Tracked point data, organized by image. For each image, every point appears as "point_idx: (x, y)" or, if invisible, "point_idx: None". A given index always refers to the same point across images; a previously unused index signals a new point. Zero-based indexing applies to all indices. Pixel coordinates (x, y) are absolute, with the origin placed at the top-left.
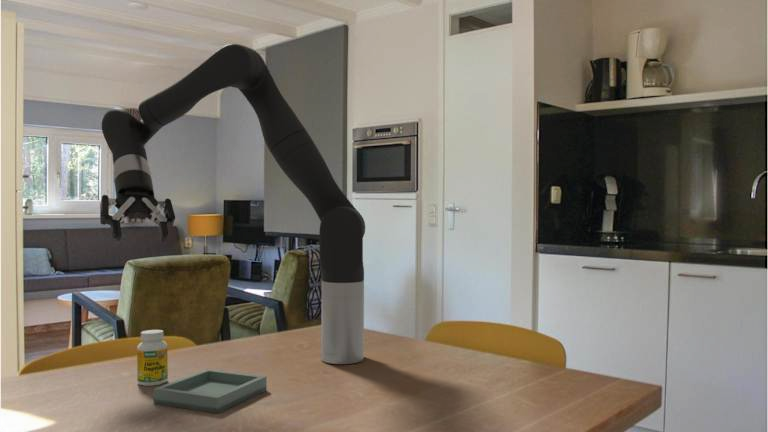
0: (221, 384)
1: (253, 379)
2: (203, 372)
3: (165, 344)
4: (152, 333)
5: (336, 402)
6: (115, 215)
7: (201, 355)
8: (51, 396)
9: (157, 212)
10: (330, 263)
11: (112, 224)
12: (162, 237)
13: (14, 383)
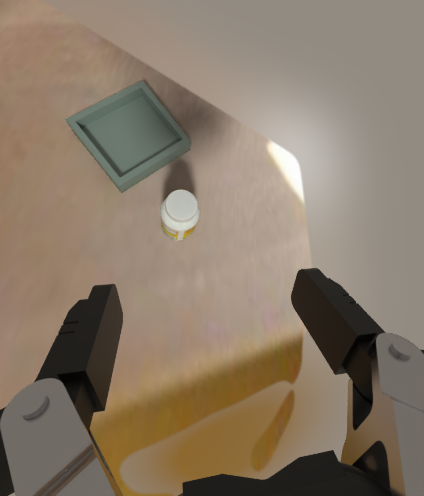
0: (114, 158)
1: (84, 116)
2: (127, 173)
3: (164, 200)
4: (183, 190)
5: (24, 57)
6: (415, 368)
7: None
8: (273, 223)
9: (63, 481)
10: None
11: (373, 321)
12: (114, 287)
13: None
